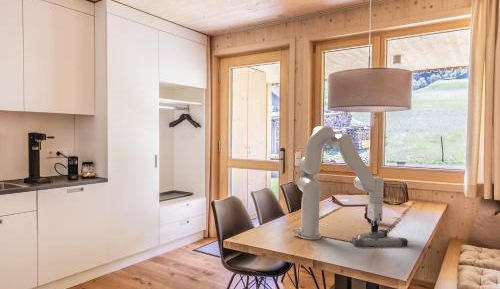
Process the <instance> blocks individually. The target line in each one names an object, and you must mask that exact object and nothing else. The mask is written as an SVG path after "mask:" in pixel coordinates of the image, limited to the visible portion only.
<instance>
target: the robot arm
mask: <svg viewBox="0 0 500 289" xmlns="http://www.w3.org/2000/svg"><path fill="white" fill-rule="evenodd" d="M311 131H312V132H311V135H310V137H309V139H307V143H306V145H305V154H304V156H303V157H302V158H300V160H299V163H298V165H297V166H298V168H297V180H296V182H297V187H298V188H297V189H299V190H300V191H301V192H302V196H301V204H300V205H301V207H300V208H301V209H300V210H301V211H300V215H301V216H300V226H299V227H297V228H295V227H294V228H293V227H292V228H291V232H292V233H295V234H297V236H298V237H299V239H300V238H301V239H303V240H309V241H310V240H312V241H314V240H319V239H321V238H322V236H323V235H322V233H321V232H320V231H319V230H320V202H321V195H322V185H321V183H320V181H319V180H318V179H316V178H315V176H316V175H318V174H319V173H320V172H321V166H322V153H323V148H324V146H325V145H326V146H328V147H329V146H330V147H332V148H334V149H338V151H339V153H340V155H341V158H342V160H343V162H344V164H345V165H346V166H347V167H348V168H349V169H350V170H351V171H353V173H354V174H355V175H356V177H355V178H354V179H353V186H354V187H355V188H356V189H358V190H359V191H362V192H365V193H368V203H367V206H368V210H367V217H368V218H369V219H371V223H370V224H371V227H370V228H371V230H370V232H374V231H378V230H379V225H380V224H381V222H382V221H383V203H384V187H385V186H384V185H385V181H384V177H380V176H373V174H372V171H371V169H370V168H369V166H368V165H367V164H366V163H365V162H364V161H363V159H362V158H361V156H360V154H359V152H358V150H357V148H356V145H355V144H354V141H353V139H352V137H351V135H349V134H348V133H345V132H343V133H342V132H336V131H335V130H334V129H333V128H332V126H330V125H317V126H315V127H314V128H313V130H311Z"/></svg>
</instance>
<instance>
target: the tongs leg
mask: <svg viewBox="0 0 500 289" xmlns="http://www.w3.org/2000/svg"><path fill="white" fill-rule="evenodd" d="M358 236H362V238H387V237H388V230H387V229H383V228H380V229H378V231H374V232H371V231H369V232H366V233H362V234H357V235H356V237H355V238H358Z"/></svg>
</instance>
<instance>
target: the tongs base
mask: <svg viewBox="0 0 500 289" xmlns="http://www.w3.org/2000/svg"><path fill="white" fill-rule="evenodd" d="M408 242H409V240H408V239H407V238H405V237H397V238H392V237H391V238H387V237H383V238H362V236H358V238H356V237H352V238H351V244H352V246H353V247H355V248H358V247H359V248H360V247H408V244H409V243H408Z"/></svg>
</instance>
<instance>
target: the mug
mask: <svg viewBox="0 0 500 289" xmlns="http://www.w3.org/2000/svg"><path fill="white" fill-rule="evenodd" d="M367 210H368V205H365V208H364V211H365V213H364V215H363V216H364V217H363V218H364V219H365V220H366V221H367V223H368V222H369V223H368V224H371V219H369V218H368V217H367Z"/></svg>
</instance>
